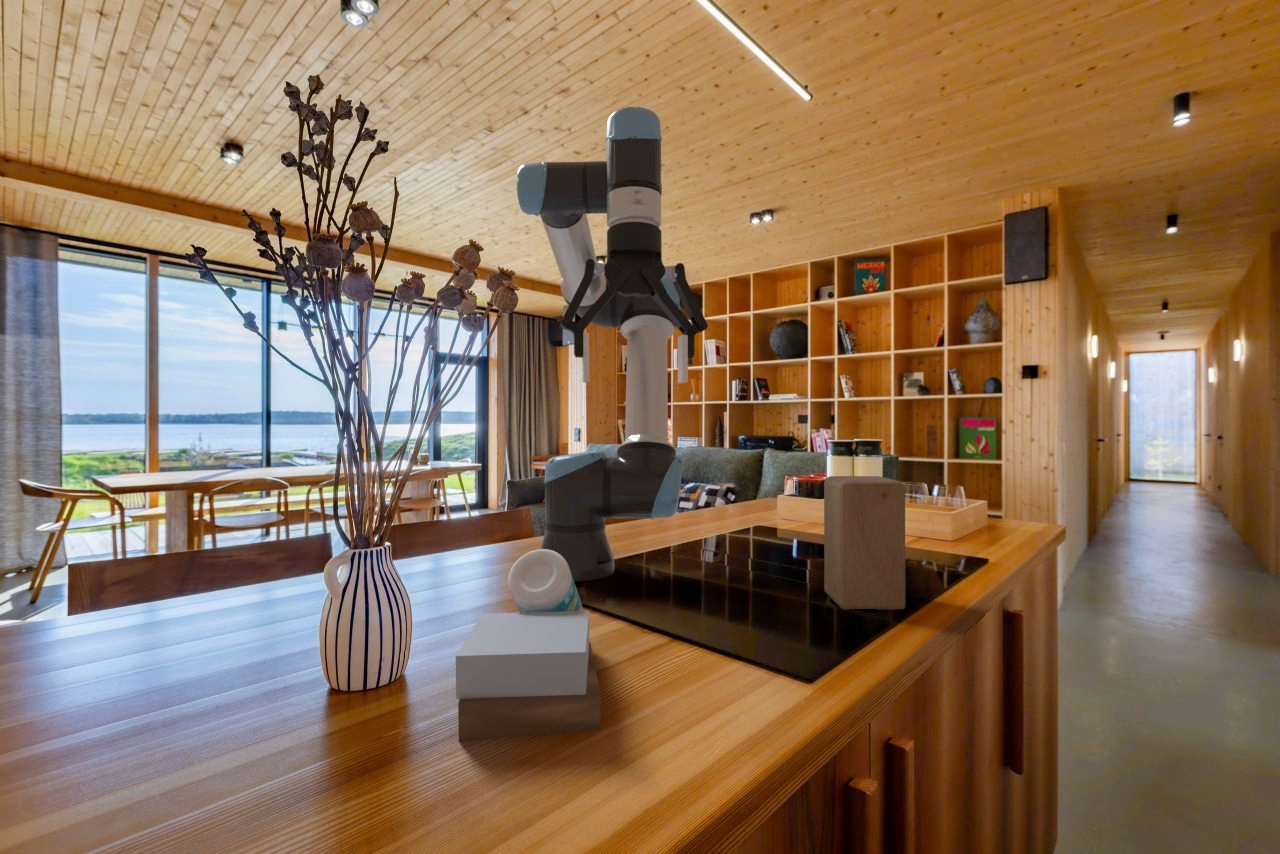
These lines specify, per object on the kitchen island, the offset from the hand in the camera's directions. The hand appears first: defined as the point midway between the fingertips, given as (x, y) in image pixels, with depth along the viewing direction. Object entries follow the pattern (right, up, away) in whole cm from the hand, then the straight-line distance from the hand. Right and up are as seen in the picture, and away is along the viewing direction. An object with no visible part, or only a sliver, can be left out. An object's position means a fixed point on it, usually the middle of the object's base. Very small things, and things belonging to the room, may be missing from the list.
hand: (634, 382), depth 81 cm
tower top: (-11, -31, -20) cm, 39 cm away
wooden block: (+36, -35, +13) cm, 52 cm away
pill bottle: (-11, -23, -13) cm, 29 cm away
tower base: (-11, -35, -20) cm, 42 cm away
